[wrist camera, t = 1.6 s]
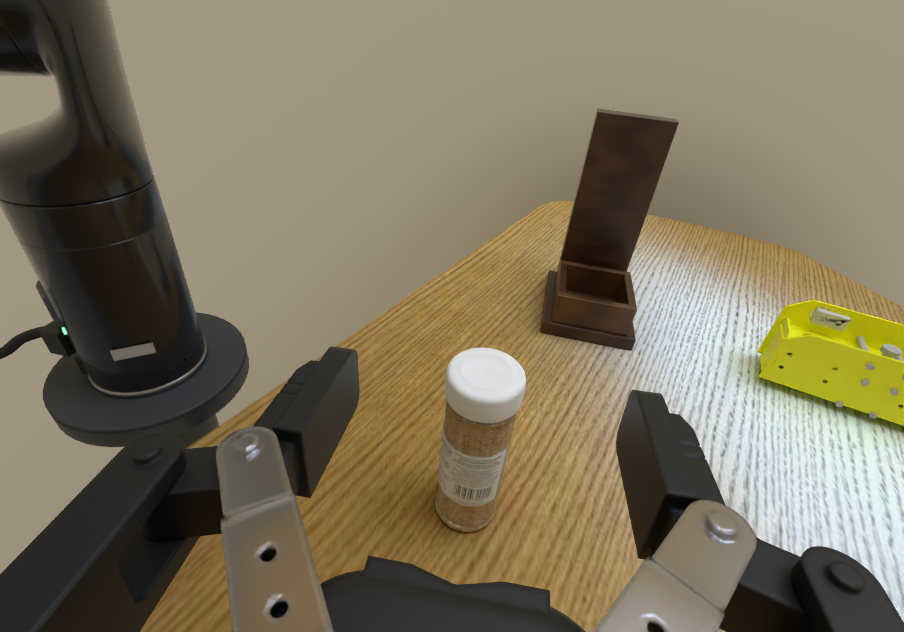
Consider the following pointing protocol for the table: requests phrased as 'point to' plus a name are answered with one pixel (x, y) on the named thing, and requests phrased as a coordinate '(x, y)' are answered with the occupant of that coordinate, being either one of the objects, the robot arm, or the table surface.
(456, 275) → the table surface
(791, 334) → the yellow toy chassis
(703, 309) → the table surface
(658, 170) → the walnut stand
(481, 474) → the sprinkles bottle
